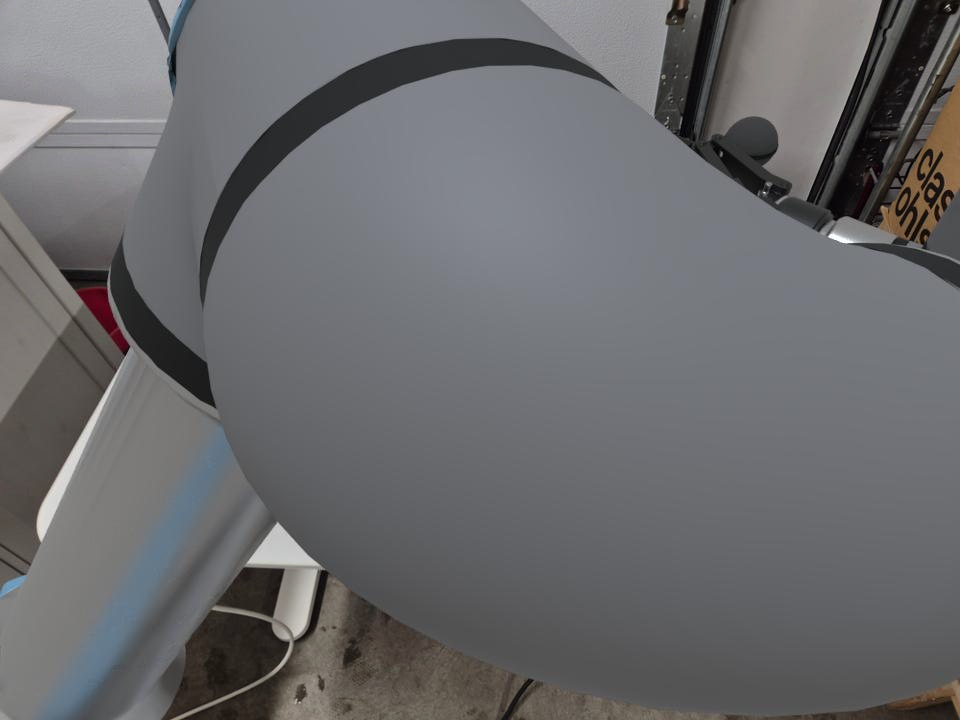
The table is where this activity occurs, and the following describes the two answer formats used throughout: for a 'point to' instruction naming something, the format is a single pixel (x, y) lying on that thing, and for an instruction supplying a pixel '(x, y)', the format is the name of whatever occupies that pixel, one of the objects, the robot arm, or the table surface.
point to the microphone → (754, 138)
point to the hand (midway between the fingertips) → (587, 164)
